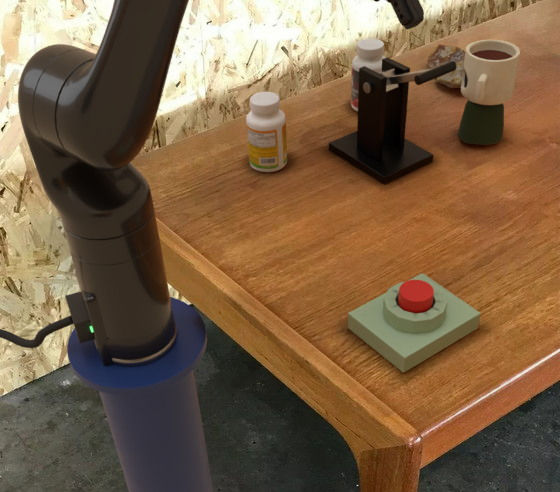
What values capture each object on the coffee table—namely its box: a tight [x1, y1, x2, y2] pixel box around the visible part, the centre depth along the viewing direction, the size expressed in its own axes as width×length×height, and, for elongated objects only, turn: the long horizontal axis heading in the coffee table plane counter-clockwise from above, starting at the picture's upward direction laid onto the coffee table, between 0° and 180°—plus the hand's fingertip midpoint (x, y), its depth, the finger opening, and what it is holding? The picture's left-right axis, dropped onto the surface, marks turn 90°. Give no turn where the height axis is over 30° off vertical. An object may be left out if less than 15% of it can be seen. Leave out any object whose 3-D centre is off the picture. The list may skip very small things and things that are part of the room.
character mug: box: [457, 39, 521, 146], centre depth 110 cm, size 11×7×13 cm, turn 156°
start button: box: [398, 279, 434, 313], centre depth 84 cm, size 4×4×2 cm
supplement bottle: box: [245, 91, 288, 173], centre depth 109 cm, size 5×5×10 cm
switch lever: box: [377, 61, 457, 92], centre depth 101 cm, size 12×6×2 cm, turn 37°
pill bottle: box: [350, 37, 387, 113], centre depth 119 cm, size 5×5×10 cm
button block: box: [347, 272, 482, 373], centre depth 85 cm, size 11×9×4 cm
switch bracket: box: [328, 56, 434, 185], centre depth 108 cm, size 12×9×13 cm
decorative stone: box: [425, 43, 466, 89], centre depth 127 cm, size 10×4×15 cm
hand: (415, 24), depth 95 cm, fingers closed
